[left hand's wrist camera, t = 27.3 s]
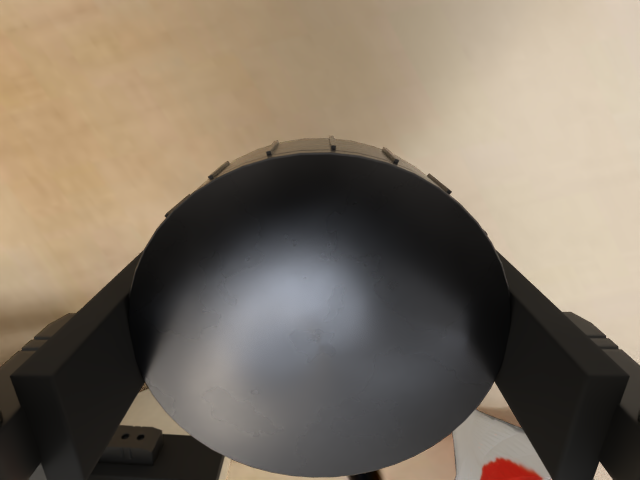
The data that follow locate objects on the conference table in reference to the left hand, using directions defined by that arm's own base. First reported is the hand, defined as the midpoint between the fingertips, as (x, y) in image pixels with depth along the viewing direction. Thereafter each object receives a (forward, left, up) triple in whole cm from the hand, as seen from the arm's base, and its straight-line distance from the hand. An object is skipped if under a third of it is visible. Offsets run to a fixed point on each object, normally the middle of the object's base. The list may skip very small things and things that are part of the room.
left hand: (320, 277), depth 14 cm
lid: (0, 0, +3) cm, 4 cm away
